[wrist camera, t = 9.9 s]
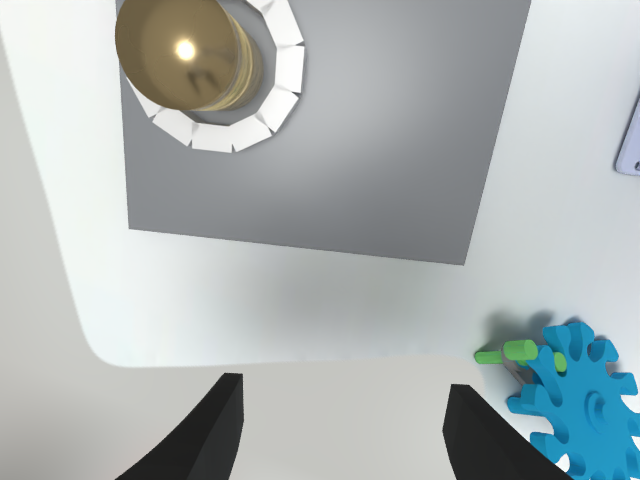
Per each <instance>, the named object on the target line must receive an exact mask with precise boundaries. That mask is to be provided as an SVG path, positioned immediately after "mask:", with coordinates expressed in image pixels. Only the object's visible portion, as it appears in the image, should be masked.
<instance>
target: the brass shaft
mask: <svg viewBox="0 0 640 480" xmlns="http://www.w3.org/2000/svg"><path fill="white" fill-rule="evenodd" d="M115 44H116V50H117V54H118V58H119V61H120V63H121V66H122V68H123V70H124V72H125V74H126V76H127V77H128V79H129V80H130V82H131V83H132V84H133V86H134V87H135V88H136V89H137V90H138V91H139V92H140V93H141V94H142V95H143V96H145V97H146V98H147V99H149V100H150V101H152V102H154V103H156V104H157V105H160V106H162V107H165V108H169V109H173V110H193V111H231V110H236V109H239V108H241V107H243V106H245V105H246V104H248V103H249V102H250V101H251V100H252V99H253V98H254V97H255V96H256V94H257V93H258V91H259V89H260V87H261V83H262V80H263V72H264V67H263V59H262V55H261V52H260V50H259V47H258V45H257V44H256V42H255V41H254V39H253V38H252V37H251V35H250V34H249V33H248V32H247V31H246V30H245V29H244V28H243V27H242V26H241V25H240V24H239V23H238V22H237V21H236V20H235V19H234V18H233V17H232V16H231V15H230V14H229V13H228V12H227V11H226V10H225V9H224V8H223V7H222V6H221V5H220V4H219V3H218V2H217V1H216V0H125V1H124V2H123V4H122V6H121V8H120V11H119V14H118V17H117V21H116V27H115Z"/></svg>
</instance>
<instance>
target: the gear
mask: <svg viewBox="0 0 640 480" xmlns="http://www.w3.org/2000/svg"><path fill="white" fill-rule="evenodd" d="M543 336H544V339H545V340H546V342H547V344H548V345H536V344H535V343H534V342H533V341H532V340H516V341H506V342H505V343H504V345H503V347H502V350H501V351H488V352H477V353H476V354H475V360H476V362H477V363H479V364H504V365H505V367H506V368H507V369H508V370H509V371H510V373H511V374H512V375H513V376H514V377H515V378H516V379H517V380H518V381H519V383H520V384H521V385H522V386H523V387H522V390H521V397H510V398H509V399H508V402H507V405H508V408H509V410H510V412H512V413H517V414H525V415H534V416H542V417H546V418H547V419H548V421H549V422H550V423H551V424H552V426H553V429H554V435H552V434H547V433H540V432H532V433H531V434H530V444H531V445H533V446H534V447H535V448H536V449H537V450H538V451H540V452H541V453H542V454H543V455H544V456H545V457H546V458H548V459H549V460H550V461H551V462H553V463H554V464H555V463H557V462H558V461H559V459H560V458H561V457H562V456H563V455H564V454H566V453H567V455H568V457H569V461H570V467H569V470H568V471H567V472H565V473H566V474H568V475H569V476H570V477H572V478H573V479H574V480H589V479H590V480H631V479H630V477H633V478H637V479H640V451H639V449H638V448H637V447H636V445H635V443H634V442H633V439H632V437H631V436H636V437H640V413H634V412H633V411H631V410H630V409H629V408H628V407H627V406H626V405H625V404H624V402H623V401H622V399H621V396H620V395H637V394H638V389H637V385H636V382H635V379H634V376H633V374H632V373H618V372H615V373H613V374H612V375H611V376H609V375H608V373H607V371H606V367H605V364H606V362H616V361H617V360H618V357H619V355H618V353H617V350H616V349H615V347H614V345H613V344H612V342H611V341H610V340H596V341H594V337H595V336H594V331H593V330H592V329H591V328H590V327H589V326H588V325H586V324H585V323H583V322H577V323H569V324H568V325H567V326H564V325H560V326H550V327H544V328H543ZM591 343H592V344H591ZM589 344H591V351H590V354H589V356H588V354H587V347H588V345H589Z"/></svg>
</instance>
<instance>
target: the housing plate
mask: <svg viewBox="0 0 640 480" xmlns="http://www.w3.org/2000/svg"><path fill="white" fill-rule="evenodd" d="M124 1H125V0H116V16H117V17H118V14H119V11H120V8H121V6H122V4H123V2H124ZM216 1H217V2H218V3H219V4H220V5H221V6H222V7H223V8H224V9H225V10H226V11H227V12H228V13H229V14H230V15H231V16H232V17H233V18H234V19H235V20H236V21H237V22H238V23H239V24H240V25H241V26H242V27H243V28H244V29H245V30H246V31H247V32H248V33H249V34H250V35H251V37H252V38H253V39H254V41H255V42H256V44H257V45H258V47H259V50H260V52H261V55H262V59H263V67H264V72H263V80H262V83H261V87H260V89H259V91H258V93H257V94H256V96H255V97H254V98H253V99H252V100H251V101H250V102H249V103H248V104H246V105H245V106H243V107H241V108H239V109H236V110H231V111H193V110H173V109H169V108H165V107H162V106H160V105H157V104H156V103H154V102H152V101H150V100H149V99H147V98H146V97H145V96H143V95H142V94H141V93H140V92H139V91H138V90H137V89H136V88H135V87H134V86H133V84H132V83H131V82H130V80H129V79H128V77H127V76H126V74H125V72H124V70H123V68H122V66H121V63H120V61H119V68H120V85H121V102H122V120H123V137H124V154H125V171H126V189H127V206H128V223H129V229H134V230H143V231H152V232H161V233H171V234H180V235H189V236H198V237H207V238H216V239H225V240H235V241H244V242H253V243H262V244H271V245H280V246H289V247H299V248H308V249H317V250H326V251H335V252H344V253H353V254H363V255H372V256H381V257H390V258H399V259H408V260H417V261H427V262H436V263H445V264H454V265H463V266H464V264H465V260H466V256H467V252H468V248H469V244H470V240H471V236H472V232H473V228H474V224H475V220H476V216H477V213H478V209H479V205H480V201H481V197H482V193H483V189H484V185H485V181H486V177H487V173H488V169H489V165H490V161H491V157H492V153H493V150H494V146H495V142H496V138H497V134H498V130H499V126H500V122H501V118H502V114H503V110H504V106H505V102H506V98H507V94H508V91H509V87H510V83H511V79H512V75H513V71H514V67H515V63H516V59H517V55H518V51H519V47H520V43H521V39H522V35H523V32H524V28H525V24H526V20H527V16H528V12H529V8H530V4H531V0H216Z"/></svg>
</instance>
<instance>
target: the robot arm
mask: <svg viewBox="0 0 640 480" xmlns="http://www.w3.org/2000/svg"><path fill="white" fill-rule="evenodd" d="M637 162H639V166H638V167H637V168H636V169H635V164H636V163H637ZM616 169H617V171H618V172H620V173H624V174H630V175H639V176H640V99H639V102H638V104H637V107H636V110H635V113H634V115H633V118H632V121H631V124H630V127H629V129H628V132H627V135H626V138H625V140H624V143H623V146H622V149H621V151H620V154H619V157H618V160H617V162H616ZM243 411H244V409H243V374H238V373H224V374H223V375H222V376H221V377H220V378H219V380H218V381H217V382H216V384H215V385H214V386H213V387H212V388H211V389H210V391H209V392H208V393H207V394H206V395H205V397H204V398H203V399H202V400H201V401H200V402H199V403H198V404H197V406H196V407H195V408H194V409H193V410H192V411H191V412H190V413H189V414H188V415H187V416H186V418H185V419H184V420H183V421H182V422H181V423H180V424H179V425H178V426H177V427H176V428H175V429H174V430H173V431H172V432H171V433H170V434H169V435H167V437H166V438H164V439H163V440H162V441H161V442H160V443H159V444H158V445H157V446H156V447H155V448H153V449H152V450H151V451H150V452H149V453H148V454H146V455H145V456H144V457H143V458H142V459H141V460H139V461H138V462H137V463H136V464H135V465H133V466H132V467H131V468H129V469H128V470H127V471H126V472H124V473H123V474H122V475H120V476H119V477H118V478H116V479H115V480H228V479H229V476H230V473H231V470H232V467H233V464H234V461H235V458H236V455H237V451H238V447H239V442H240V437H241V432H242V427H243V422H244V413H243ZM442 431H443V436H444V440H445V444H446V448H447V452H448V456H449V460H450V463H451V466H452V468H453V471H454V474H455V477H456V479H457V480H574V479H573V478H572V477H570V476H569V475H568V474H566V473H565V472H564V471H563V470H561V469H560V468H559V467H557V466H556V465H555V464H554V463H553V462H551V461H550V460H549V459H548V458H546V457H545V456H544V455H543V454H542V453H541V452H540V451H538V450H537V449H536V448H535V447H534V446H533V445H531V444H530V443H529V442H528V441H527V440H526V439H525V438H524V437H523V436H521V435H520V434H519V433H518V432H517V431H516V430H515V429H514V428H513V427H512V426H511V425H510V424H509V423H508V422H507V421H505V420H504V419H503V418H502V417H501V416H500V415H499V414H498V413H497V412H496V411H495V410H494V409H493V408H492V407H491V406H490V405H489V404H488V403H487V402H486V401H485V400H484V399H483V398H482V397H481V396H480V395H479V394H478V393H477V392H476V391H475V390H474V389H473V388H472V387H471V386H470V385H460V384H451V389H450V394H449V399H448V404H447V409H446V414H445V419H444V425H443V430H442Z"/></svg>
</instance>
